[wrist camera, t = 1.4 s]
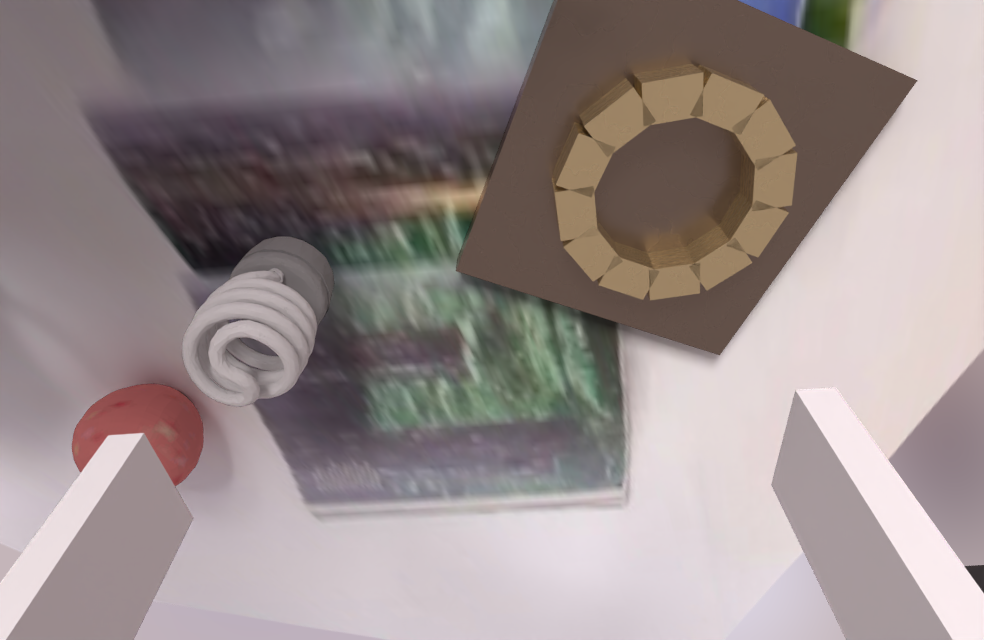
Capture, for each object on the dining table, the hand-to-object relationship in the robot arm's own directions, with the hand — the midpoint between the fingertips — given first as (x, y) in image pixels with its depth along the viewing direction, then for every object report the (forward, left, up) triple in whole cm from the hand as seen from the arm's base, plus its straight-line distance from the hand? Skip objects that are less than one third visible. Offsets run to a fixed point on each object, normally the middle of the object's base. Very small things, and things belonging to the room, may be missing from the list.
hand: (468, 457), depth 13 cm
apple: (-15, -27, -24) cm, 39 cm away
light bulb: (-8, -11, -24) cm, 28 cm away
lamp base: (+10, +1, -24) cm, 26 cm away
